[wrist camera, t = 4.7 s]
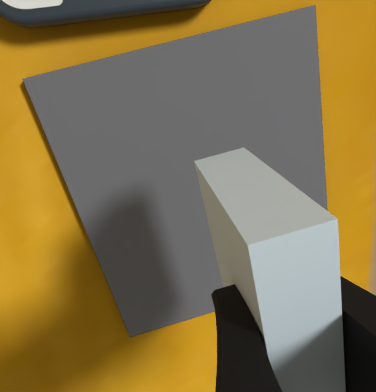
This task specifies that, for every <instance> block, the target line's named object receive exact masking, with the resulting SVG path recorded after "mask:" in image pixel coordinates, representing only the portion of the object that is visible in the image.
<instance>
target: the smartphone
mask: <svg viewBox="0 0 376 392" xmlns="http://www.w3.org/2000/svg"><path fill="white" fill-rule="evenodd" d="M210 1H211V0H0V16H1V17H3V18H4V19H6V20H8V21H10V22H12V23H15V24H17V25H20V26H23V27H28V28H42V27H50V26H58V25H66V24H74V23H82V22H90V21H98V20H106V19H114V18H122V17H130V16H138V15H146V14H154V13H162V12H170V11H178V10H186V9H194V8H198V7H201V6H204V5H206V4H207V3H208V2H210Z"/></svg>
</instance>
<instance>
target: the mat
mask: <svg viewBox="0 0 376 392" xmlns="http://www.w3.org/2000/svg"><path fill="white" fill-rule="evenodd" d="M23 82H24V84H25V86H26V89H27V91H28V94H29V96H30V98H31V101H32V103H33V106H34V108H35V110H36V113H37V115H38V118H39V120H40V122H41V125H42V127H43V130H44V132H45V134H46V137H47V139H48V142H49V144H50V146H51V149H52V151H53V153H54V156H55V158H56V161H57V163H58V165H59V168H60V170H61V173H62V175H63V177H64V180H65V182H66V185H67V187H68V189H69V192H70V194H71V197H72V199H73V201H74V204H75V206H76V209H77V211H78V213H79V216H80V218H81V221H82V223H83V225H84V228H85V230H86V232H87V235H88V237H89V240H90V242H91V244H92V247H93V249H94V252H95V254H96V256H97V259H98V261H99V264H100V266H101V268H102V271H103V273H104V276H105V278H106V280H107V283H108V285H109V288H110V290H111V292H112V295H113V297H114V300H115V302H116V304H117V307H118V309H119V311H120V314H121V316H122V319H123V321H124V323H125V326H126V328H127V331H128V333H129V335H130V337H133V336H136V335H139V334H142V333H146V332H149V331H152V330H156V329H159V328H162V327H165V326H169V325H172V324H175V323H178V322H182V321H185V320H188V319H192V318H195V317H198V316H201V315H205V314H208V313H211V312H215V308H214V304H213V300H212V296H211V294H212V293H213V291H214V290H216V289H220V288H223V284H222V279H221V275H220V271H219V266H218V262H217V258H216V254H215V249H214V245H213V241H212V236H211V232H210V228H209V224H208V219H207V215H206V211H205V206H204V202H203V198H202V194H201V189H200V185H199V181H198V176H197V172H196V168H195V164H194V161H196V160H200V159H203V158H207V157H211V156H214V155H218V154H221V153H225V152H229V151H232V150H236V149H240V148H243V147H244V148H245V149H247V150H248V151H249V152H251V153H252V154H253V155H255V156H256V157H257V158H259V159H260V160H261V161H262V162H264V163H265V164H266V165H268V166H269V167H270V168H272V169H273V170H274V171H276V172H277V173H278V174H280V175H281V176H282V177H283V178H285V179H286V180H287V181H289V182H290V183H291V184H293V185H294V186H295V187H297V188H298V189H299V190H300V191H302V192H303V193H304V194H306V195H307V196H308V197H310V198H311V199H312V200H314V201H315V202H316V203H318V204H319V205H320V206H321V207H323V208H324V209H325V210H327V195H326V178H325V161H324V144H323V126H322V109H321V92H320V75H319V58H318V41H317V24H316V7H315V5H314V6H310V7H306V8H302V9H298V10H294V11H290V12H286V13H282V14H278V15H274V16H270V17H266V18H262V19H258V20H254V21H250V22H246V23H242V24H238V25H234V26H230V27H226V28H222V29H218V30H214V31H211V32H207V33H203V34H199V35H195V36H191V37H187V38H183V39H179V40H175V41H171V42H167V43H163V44H159V45H155V46H151V47H147V48H143V49H139V50H135V51H131V52H127V53H123V54H119V55H115V56H111V57H108V58H104V59H100V60H96V61H92V62H88V63H84V64H80V65H76V66H72V67H68V68H64V69H60V70H56V71H52V72H48V73H44V74H40V75H36V76H32V77H28V78H24V79H23Z"/></svg>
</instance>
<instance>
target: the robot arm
mask: <svg viewBox="0 0 376 392" xmlns="http://www.w3.org/2000/svg"><path fill="white" fill-rule="evenodd" d="M340 279H341V301H342V323H343V344H344V366H345V387H346V392H376V296H375V295H373V294H372V293H370V292H368V291H366V290H364V289H362V288H361V287H359V286H357V285H355V284H354V283H352V282H350V281H348V280H347V279H345V278H343V277H341V276H340ZM211 296H212V300H213V304H214V308H215V314H216V325H217V376H216V392H282V390H281V388H280V386H279V383H278V381H277V379H276V376H275V374H274V372H273V369H272V366H271V364H270V361H269V358H268V356H267V353H266V350H265V348H264V345H263V342H262V340H261V337H260V334H259V332H258V329H257V326H256V324H255V321H254V318H253V316H252V313H251V311H250V309H249V307H248V305H247V304H246V302H245V300H244V298H243V297H242V295H241V293H240V291H239V290H238V288H237V287H236V285H235V284H233V285H230V286H226V287H223V288H220V289H216V290H214V291H213V293H212V294H211Z"/></svg>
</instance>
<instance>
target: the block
mask: <svg viewBox="0 0 376 392" xmlns="http://www.w3.org/2000/svg"><path fill="white" fill-rule="evenodd" d="M194 164H195V168H196V172H197V176H198V181H199V185H200V189H201V194H202V198H203V202H204V206H205V211H206V215H207V219H208V224H209V228H210V232H211V236H212V241H213V245H214V249H215V254H216V258H217V262H218V266H219V271H220V275H221V279H222V284H223V287H226V286H230V285H233V284H235V285H236V287H237V288H238V290H239V291H240V293H241V295H242V297H243V298H244V300H245V302H246V304H247V305H248V307H249V309H250V311H251V313H252V316H253V318H254V321H255V324H256V326H257V329H258V332H259V334H260V337H261V340H262V342H263V345H264V348H265V350H266V353H267V356H268V358H269V361H270V364H271V366H272V369H273V372H274V374H275V376H276V379H277V381H278V383H279V386H280V388H281V390H282V392H346V387H345V366H344V344H343V323H342V301H341V279H340V258H339V236H338V219H337V218H336V217H335V216H333V215H332V214H331V213H329V212H328V211H327V210H325V209H324V208H323V207H321V206H320V205H319V204H318V203H316V202H315V201H314V200H312V199H311V198H310V197H308V196H307V195H306V194H304V193H303V192H302V191H300V190H299V189H298V188H297V187H295V186H294V185H293V184H291V183H290V182H289V181H287V180H286V179H285V178H283V177H282V176H281V175H280V174H278V173H277V172H276V171H274V170H273V169H272V168H270V167H269V166H268V165H266V164H265V163H264V162H262V161H261V160H260V159H259V158H257V157H256V156H255V155H253V154H252V153H251V152H249V151H248V150H247V149H245V148H244V147H243V148H240V149H236V150H232V151H229V152H225V153H221V154H218V155H214V156H211V157H207V158H203V159H200V160H196V161H194Z"/></svg>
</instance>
